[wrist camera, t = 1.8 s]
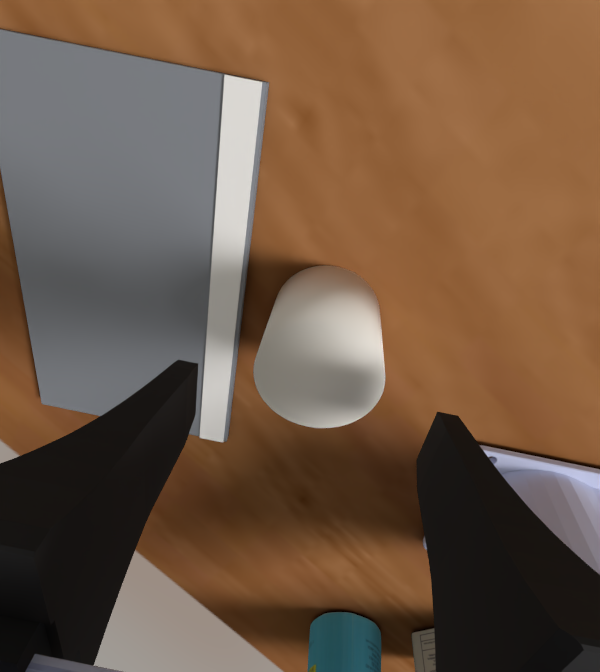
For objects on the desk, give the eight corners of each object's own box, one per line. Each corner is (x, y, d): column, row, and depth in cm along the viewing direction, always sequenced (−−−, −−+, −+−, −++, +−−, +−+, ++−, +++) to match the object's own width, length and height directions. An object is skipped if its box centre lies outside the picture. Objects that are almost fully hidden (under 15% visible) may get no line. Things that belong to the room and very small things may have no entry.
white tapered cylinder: (392, 277, 18) (401, 336, 14) (365, 366, 20) (367, 438, 16) (282, 255, 18) (261, 308, 14) (268, 347, 20) (246, 414, 16)
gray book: (269, 82, 15) (266, 82, 14) (228, 436, 23) (225, 443, 23) (-17, 25, 15) (-28, 24, 14) (46, 398, 23) (40, 405, 23)
